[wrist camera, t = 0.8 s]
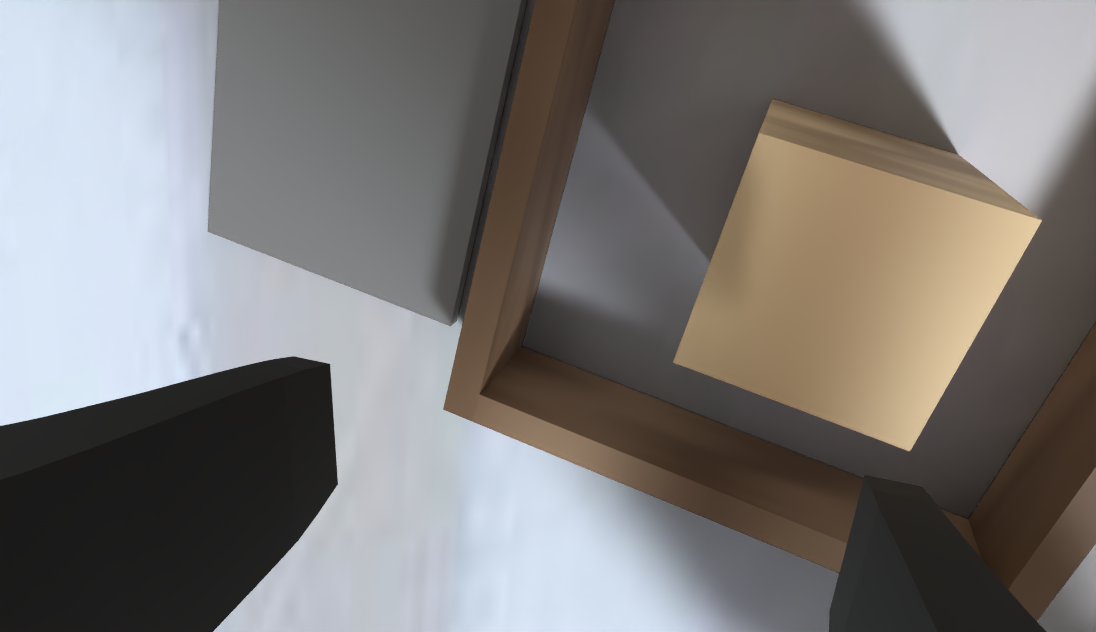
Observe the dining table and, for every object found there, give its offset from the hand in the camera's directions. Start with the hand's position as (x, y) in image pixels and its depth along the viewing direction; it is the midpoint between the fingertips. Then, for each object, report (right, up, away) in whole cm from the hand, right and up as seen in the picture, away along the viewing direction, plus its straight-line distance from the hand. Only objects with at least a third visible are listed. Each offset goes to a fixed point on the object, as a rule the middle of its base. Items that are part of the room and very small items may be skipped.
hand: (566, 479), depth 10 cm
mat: (-5, +9, +9) cm, 14 cm away
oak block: (+6, +5, +7) cm, 10 cm away
